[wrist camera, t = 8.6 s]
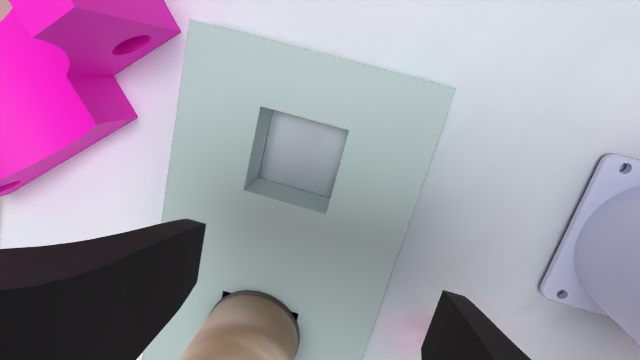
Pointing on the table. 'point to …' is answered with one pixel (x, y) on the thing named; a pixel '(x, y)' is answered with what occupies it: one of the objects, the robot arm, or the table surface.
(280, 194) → the board
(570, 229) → the robot arm
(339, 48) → the table surface
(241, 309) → the beige rounded lump
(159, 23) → the toy block
